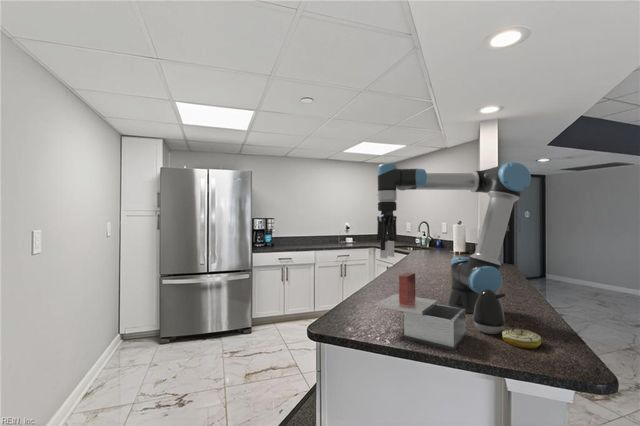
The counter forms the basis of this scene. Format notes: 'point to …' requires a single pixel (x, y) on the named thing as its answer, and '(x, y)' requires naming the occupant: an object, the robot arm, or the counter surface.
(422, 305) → the lid
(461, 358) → the counter surface
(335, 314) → the counter surface
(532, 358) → the counter surface
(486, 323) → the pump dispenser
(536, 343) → the decorated donut
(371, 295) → the counter surface
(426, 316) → the grey storage bin
